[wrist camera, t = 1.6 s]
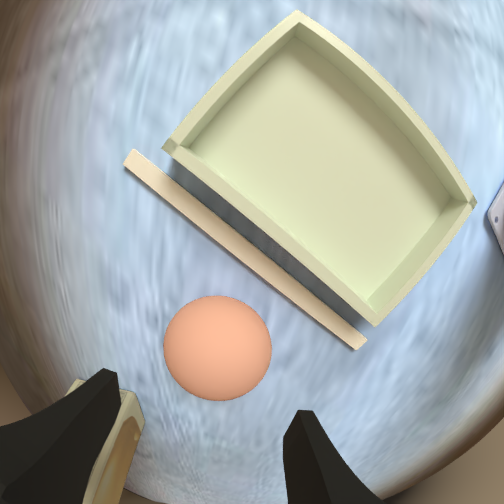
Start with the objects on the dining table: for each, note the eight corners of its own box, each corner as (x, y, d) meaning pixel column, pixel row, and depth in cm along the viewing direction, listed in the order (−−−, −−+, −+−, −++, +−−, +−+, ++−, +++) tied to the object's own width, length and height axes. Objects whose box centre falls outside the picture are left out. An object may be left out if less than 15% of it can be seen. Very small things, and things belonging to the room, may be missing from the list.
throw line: (365, 337, 16) (367, 340, 16) (354, 347, 16) (356, 350, 16) (135, 149, 13) (132, 148, 13) (125, 164, 13) (122, 164, 13)
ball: (288, 317, 16) (301, 380, 10) (231, 369, 17) (223, 433, 12) (214, 259, 15) (192, 308, 9) (162, 322, 16) (130, 380, 11)
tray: (455, 197, 13) (477, 202, 11) (362, 308, 16) (375, 327, 13) (291, 28, 11) (296, 9, 9) (175, 151, 13) (161, 148, 11)
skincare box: (90, 407, 19) (42, 499, 8) (76, 375, 18) (11, 474, 7) (149, 422, 19) (112, 534, 8) (138, 391, 18) (85, 517, 6)
